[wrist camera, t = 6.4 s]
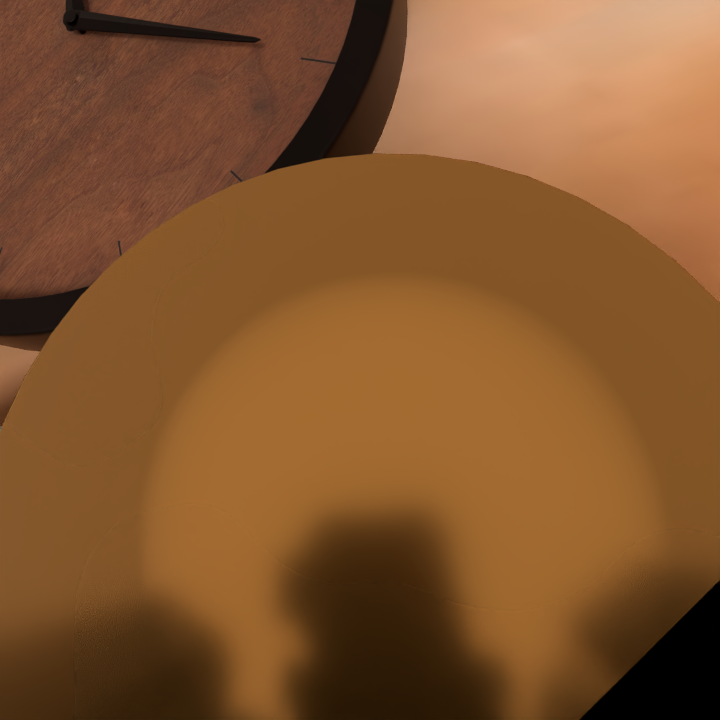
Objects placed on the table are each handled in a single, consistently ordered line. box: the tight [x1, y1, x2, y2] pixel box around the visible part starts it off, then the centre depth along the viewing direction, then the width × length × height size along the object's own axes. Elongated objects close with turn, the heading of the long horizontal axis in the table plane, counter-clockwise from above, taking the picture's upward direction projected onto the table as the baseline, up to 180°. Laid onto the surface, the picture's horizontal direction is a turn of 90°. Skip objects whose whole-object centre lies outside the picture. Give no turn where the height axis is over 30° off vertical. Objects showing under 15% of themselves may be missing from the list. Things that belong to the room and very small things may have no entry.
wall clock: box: [0, 0, 407, 351], centre depth 26 cm, size 31×4×31 cm
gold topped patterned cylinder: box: [0, 154, 720, 720], centre depth 9 cm, size 4×4×13 cm
